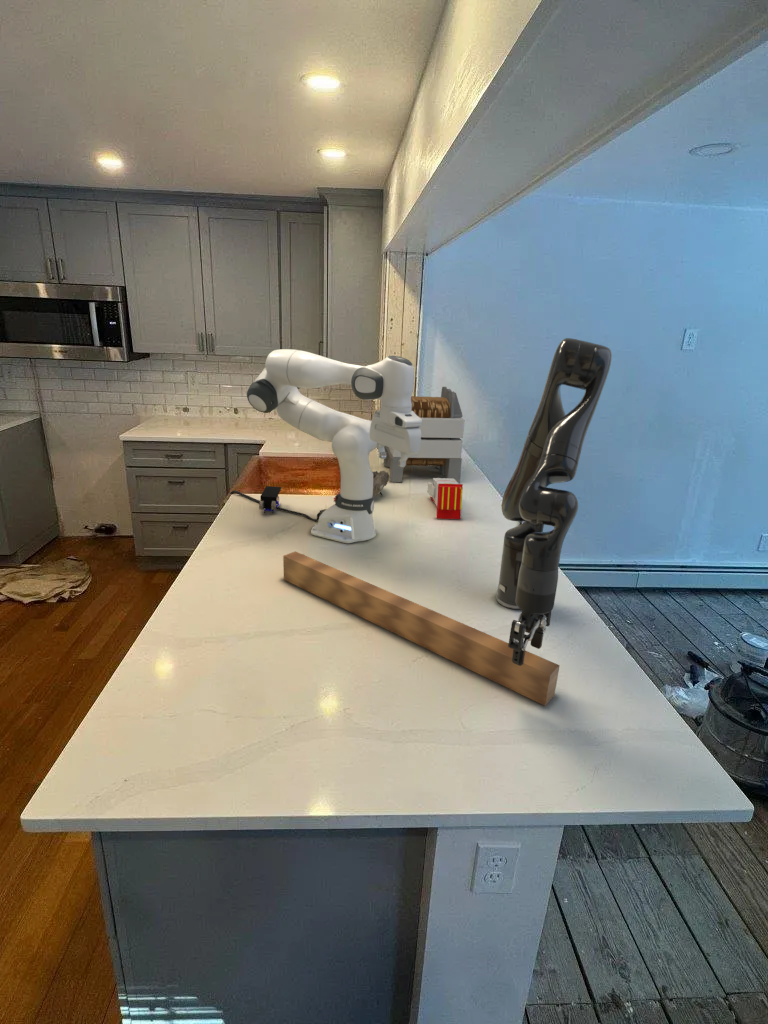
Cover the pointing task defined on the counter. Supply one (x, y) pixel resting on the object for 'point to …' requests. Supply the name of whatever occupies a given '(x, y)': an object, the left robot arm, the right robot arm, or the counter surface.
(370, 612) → the post
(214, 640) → the counter surface
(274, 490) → the figurine character
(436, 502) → the toy
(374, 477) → the fossil
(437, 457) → the transformer
